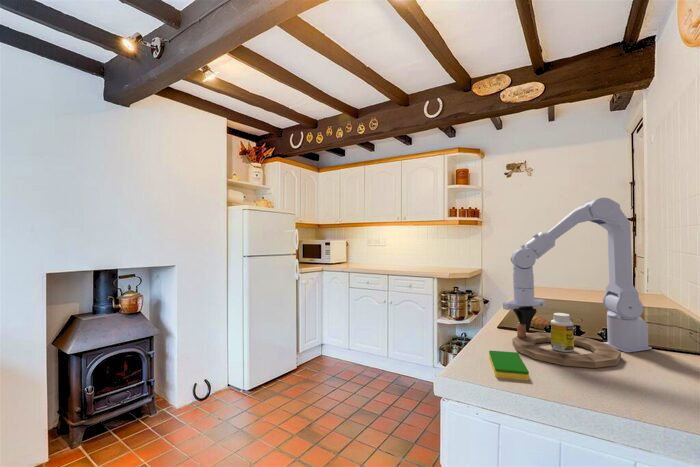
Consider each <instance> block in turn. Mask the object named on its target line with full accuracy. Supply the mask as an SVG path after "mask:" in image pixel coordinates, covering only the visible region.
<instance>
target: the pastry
mask: <svg viewBox="0 0 700 467" xmlns="http://www.w3.org/2000/svg"><path fill="white" fill-rule="evenodd" d="M548 325H551V321H549V320H547V319H544V318H543V317H541V316H538V315H537V316H535V315H534V317H533V319H532V321H531V325H530V326H531V327H534V328H533V329H536V328H539V329H538V330H542V329H543V330H545V329H544V328H545V327H546V326H548ZM531 327H530V328H531Z"/></svg>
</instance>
